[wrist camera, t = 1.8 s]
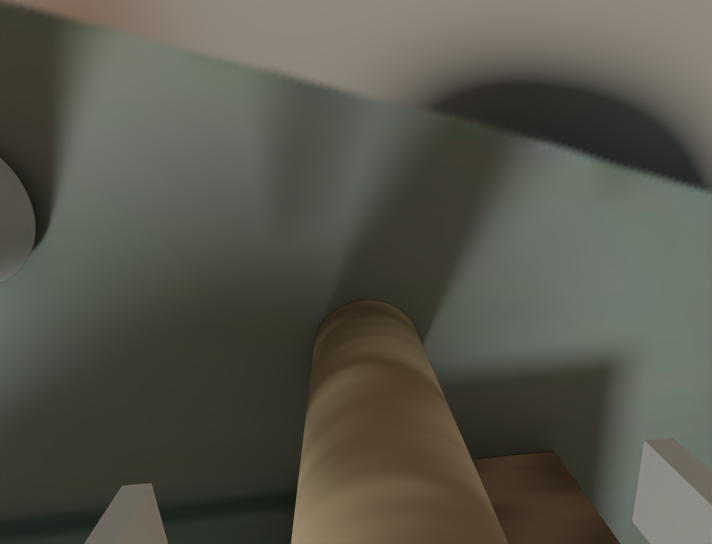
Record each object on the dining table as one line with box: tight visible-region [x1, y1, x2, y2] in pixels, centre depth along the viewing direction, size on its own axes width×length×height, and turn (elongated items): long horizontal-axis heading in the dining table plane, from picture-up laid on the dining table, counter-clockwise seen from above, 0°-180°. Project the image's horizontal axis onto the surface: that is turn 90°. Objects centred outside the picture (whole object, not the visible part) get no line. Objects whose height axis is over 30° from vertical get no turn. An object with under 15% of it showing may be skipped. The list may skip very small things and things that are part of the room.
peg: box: [291, 300, 508, 544], centre depth 14 cm, size 5×5×12 cm
